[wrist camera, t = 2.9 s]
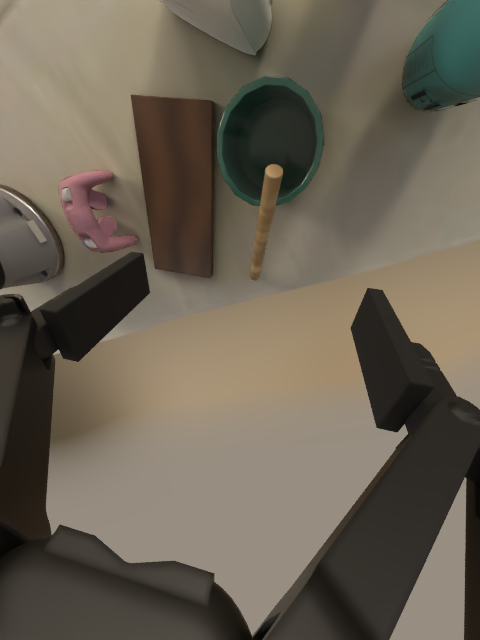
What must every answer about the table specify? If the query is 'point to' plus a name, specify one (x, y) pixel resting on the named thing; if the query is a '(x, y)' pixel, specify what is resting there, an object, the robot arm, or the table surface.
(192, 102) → the board
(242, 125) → the coffee cup
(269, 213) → the stirrer
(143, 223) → the table surface
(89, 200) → the video game controller
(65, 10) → the table surface
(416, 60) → the beverage bottle
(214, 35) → the photo printer
